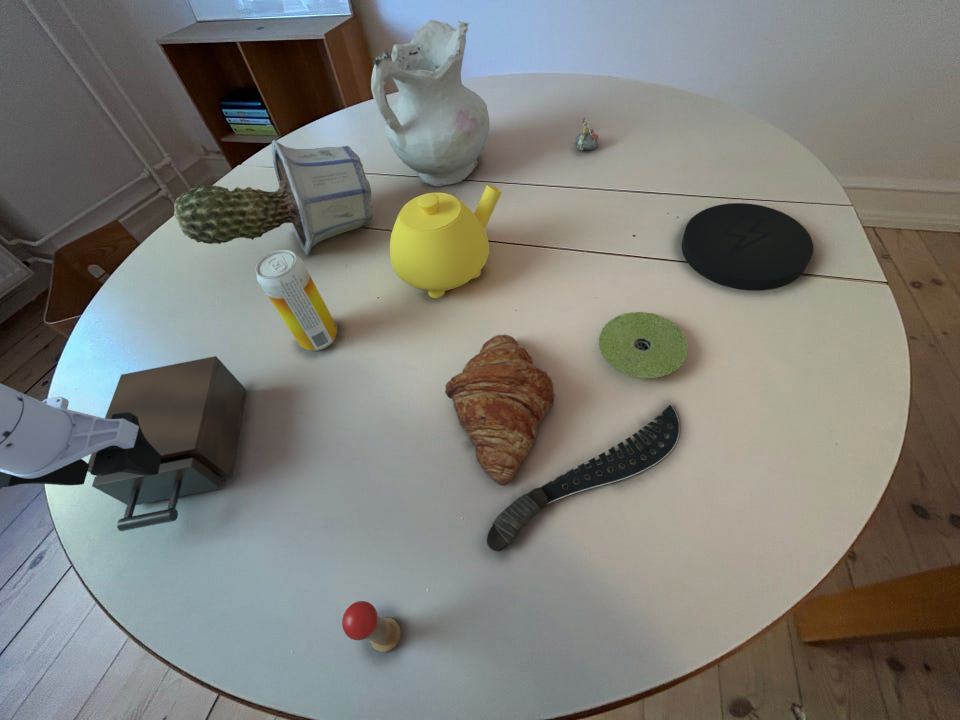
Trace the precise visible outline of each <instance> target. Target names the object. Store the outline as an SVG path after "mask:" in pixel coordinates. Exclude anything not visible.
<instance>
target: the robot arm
mask: <svg viewBox="0 0 960 720" xmlns="http://www.w3.org/2000/svg"><path fill="white" fill-rule="evenodd" d="M69 403H70V401H69V399H68V398H65V397H63V396H55V397H47V398H45V399H43V400H42V401H41V400H39V399H36V398H35V397H32V396H31V395H30V396H29V395H27V394H25V393H23V392H21V391H18V390H16V389H14V388H12V387H10V386H7V385H5V384H3V383H1V382H0V488H1V489H2V488H8V487H9V488H10V487H14V486H19V485H57V486H80V485H81V486H82V485H85V481H86V478H87V475H88V473H89V472H88V468H89V464H88V461H86V460H84V458H85V457H88V456H91V454H92V453H95V452H97V451H98V452H97V453H96V456H95V460H94V463H93V467H92V470H91V473H90V475H91V476H95V475H101V474H108V473H115V472H127V473H132V474H137V475H143V476H150V475H157V474H158V471H159V466H160V462H161V457H162V456H161V455H160V454H159V453H158V452H157V451H156V450H155V449H154V448H153V446H152V445H151V444H150V443H149V442H148V441H147V440H146V438H145V437H144V435H143V433H142V431H141V428H140V425H139V421H138V418H137V416H135V415H134V414H132V413H129V412H125V413H118V414H113V415H112V418H111V419H106V418H105V417H100V416H96V415H92V414H89V413H84V412H80V411H76V410H73V409H72V410H71V409H68V407H69Z"/></svg>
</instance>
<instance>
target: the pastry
mask: <svg viewBox="0 0 960 720" xmlns="http://www.w3.org/2000/svg"><path fill="white" fill-rule="evenodd" d="M444 387H445V390H444V394H445V395H446V396H447V398H448V399H450V400H452V402H453V404H452V405H453V407H454V410H455V412H456V415H457V420H458V421H459V424H460V426H461V428H462V429H463V430H465V432H466V434H467V436H468V439H469V440H470V442H471V443H472V445H473V446H474V450H475V457H476V461H477V463H478V464H479V467H480V468H482V470H483V471H484V473H486V475H488V476H489V477H490V479H492V480H494V482H495V483H497V484H498V485H500V486H507V485H509V484H510V482H511V481H513V479H515V477H516V475H517V474H518V472H519V469H520V465H521V464H522V463H523V462H524V460H525V459H526V458H527V456H528V454H529V453H530V452H531V449H532V447H533V446H534V444H535V441H536V439H537V435H538V431H537V428H538V427H539V425H540V424H541V422H542V421H543V420H544V418H545V416H546V415H547V413H548V412H549V411H550V409H551V408H552V407H553V405H554V403H555V396H556V395H555V388H554V384H553V380H552V377H551V376H550V375H549V374H548V372H547V370H543V369H542V368H539V367H538V366H536V365H534V358H533V357H532V356H531V354H529V351H528V350H526V349H525V348H523V346H520V345H519V343H518V341H517V340H516V339H515V338H514V337H513V336H511V335H508V334H497V335H494V336H492V337H491V338H490V339H488V340H487V341H486V342H484V343H483V344H482V346H481V348H480V350H479V353H477V354H475V355H474V356H473V357H472V358H470V359H469V361H468V362H467V363H466V364H465V366H464V367H463V369H462V372H460V373H458V374H455V375H454V376H453V377H451V378H450V379H449V380H448V381H447V382H446V384H445V386H444Z"/></svg>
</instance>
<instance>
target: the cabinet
mask: <svg viewBox="0 0 960 720" xmlns="http://www.w3.org/2000/svg"><path fill="white" fill-rule="evenodd" d="M247 392H248V390H247V389H246V388H245V386H244V384H242V383H241V382H240V381H239V380H238V379H237V377H236V376H235V375H234V374H233V373H232V372H231V370H229V369H228V367H226V365H225V364H224V363H223V362H222V361H221V360H220V359H219V357H218V356H217V355H215V356H214V355H213V356H208V357H204V358H198V359H193V360H189V361H183V362H179V363H174V364H168V365H163V366H158V367H153V368H148V369H142V370H139V371H138V370H137V371H132V372H128V373H123V374H120V376H119V379H118V381H117V384H116V387H115V390H114V393H113V395H112V398H111V401H110V402H109V403H110V404H109V406H108V409H107V411H106V414H105V417H104V418H106V419H111V418H112V415H113V414H118V413H125V412H129V413H132V414H134V415H135V416H137V418H138V421H139V425H140V428H141V431H142V433H143V435H144V437H145V438H146V440H147V441H148V442H149V443H150V444H151V445H152V446H153V448H154V449H155V450H156V451H157V452H158V453H159V454H160V455H161V456H162V457H161V459H163V458H168V457H174V456H179V455H184V454H189V453H193V454H194V455H196V456H197V457H198V458H199V459H201V460H202V461H203V462H205V463H206V464H207V465H209V466H210V467H211V468H212V469H214V471H212V472H213V473H214V474H216V475H217V476H218V477H220V478H221V479H222V480H226V479H227V480H228V479H231V478H232V477H233V472H234V468H235V461H236V456H237V450H238V444H239V438H240V431H241V425H242V420H243V414H244V413H243V412H244V410H245V409H244V408H245V403H246V396H247ZM97 452H98V451H97ZM97 452H95V453H92V454H90V457H89V460H88V461H87V463H88V464H89V468H88V472H87V473H89V474H91V470H92V467H93V463H94V460H95V456H96V453H97ZM115 473H117V472H115ZM108 474H112V473H108ZM102 475H107V474H101V475H94V477H97V476H102Z"/></svg>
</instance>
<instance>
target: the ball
mask: <svg viewBox="0 0 960 720" xmlns="http://www.w3.org/2000/svg"><path fill="white" fill-rule="evenodd" d="M378 616H379V615H378V611H377V609H376V607H375V606H374V605H373V604H372V603H371V602H368V601H365V600H359V601H356V602H353V603H351V605H349V606H348V607H347V608H346V609H345V611H344V613H343V616H342V619H341V625H342V626H341V627H342V630H343V632H344V634H345V635H346V636H347V637H348V638H349V639H350V640H353V641H363V640H365V639H366V638H368V637H369V636H370V635H371V634H372V633H373V632H374V630H375V629H376V626H377V623H378ZM366 640H367V639H366Z"/></svg>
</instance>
